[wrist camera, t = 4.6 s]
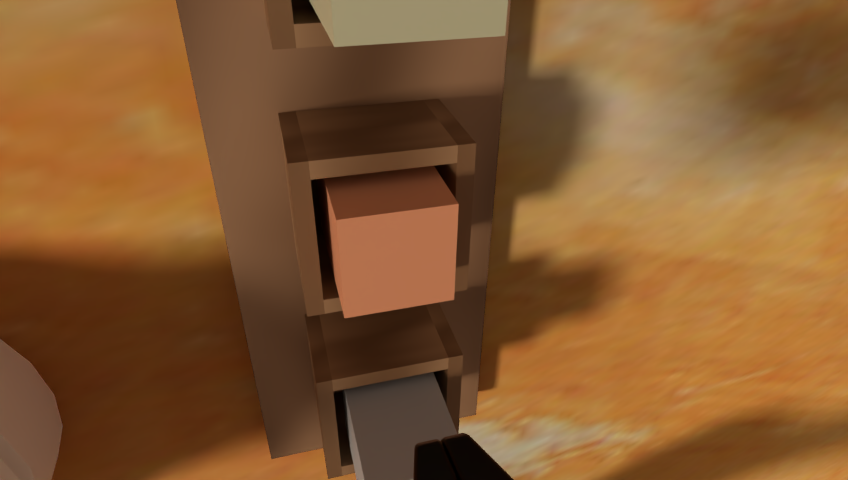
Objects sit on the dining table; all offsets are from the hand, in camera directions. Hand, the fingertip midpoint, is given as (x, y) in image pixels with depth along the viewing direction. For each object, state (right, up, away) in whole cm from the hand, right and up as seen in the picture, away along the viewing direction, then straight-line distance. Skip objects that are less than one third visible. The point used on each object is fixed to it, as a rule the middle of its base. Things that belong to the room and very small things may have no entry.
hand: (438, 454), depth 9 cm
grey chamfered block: (-2, -2, +12) cm, 12 cm away
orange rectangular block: (-2, +5, +10) cm, 11 cm away
